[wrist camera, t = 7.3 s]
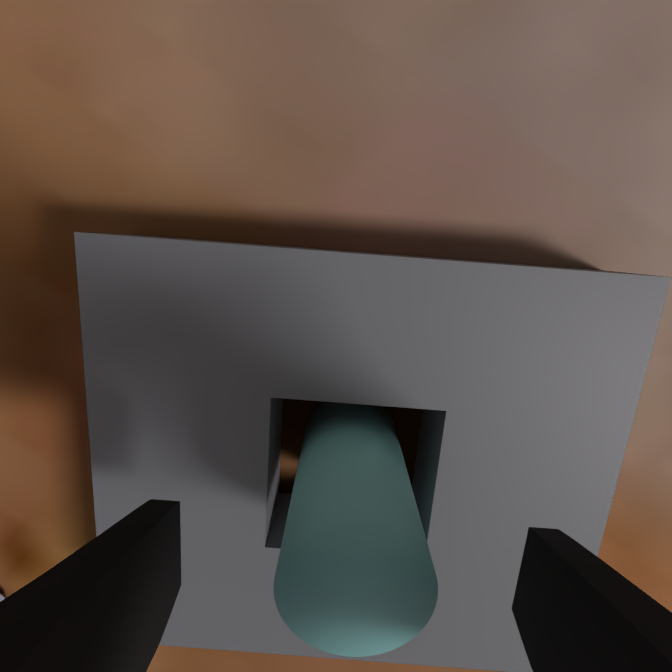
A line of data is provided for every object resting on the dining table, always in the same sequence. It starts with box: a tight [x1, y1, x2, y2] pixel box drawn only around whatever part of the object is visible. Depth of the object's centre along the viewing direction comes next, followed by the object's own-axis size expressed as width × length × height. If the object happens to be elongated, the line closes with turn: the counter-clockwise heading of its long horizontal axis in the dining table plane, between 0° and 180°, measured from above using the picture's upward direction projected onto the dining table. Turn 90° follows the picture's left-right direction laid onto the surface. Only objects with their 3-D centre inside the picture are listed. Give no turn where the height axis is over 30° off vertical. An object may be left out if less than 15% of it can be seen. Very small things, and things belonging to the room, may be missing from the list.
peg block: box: [74, 232, 671, 672], centre depth 12 cm, size 14×12×2 cm
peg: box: [273, 402, 438, 657], centre depth 10 cm, size 3×3×6 cm
